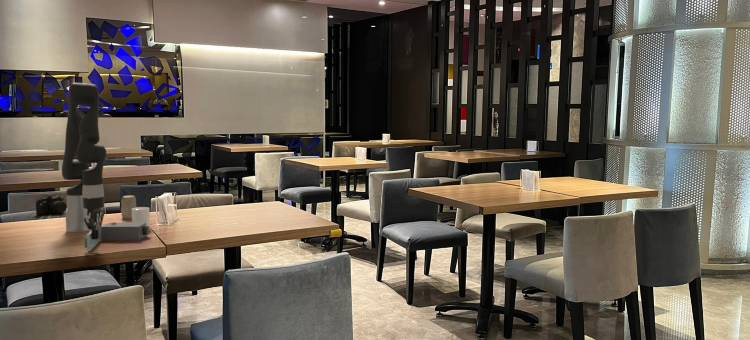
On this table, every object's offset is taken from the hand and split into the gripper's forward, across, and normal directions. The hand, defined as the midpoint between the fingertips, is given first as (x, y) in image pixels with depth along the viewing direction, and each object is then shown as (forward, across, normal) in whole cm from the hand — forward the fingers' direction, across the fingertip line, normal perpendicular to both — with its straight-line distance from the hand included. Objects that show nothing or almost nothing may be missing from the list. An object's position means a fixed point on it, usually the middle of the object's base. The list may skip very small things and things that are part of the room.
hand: (95, 238), depth 223 cm
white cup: (+5, -42, +3) cm, 42 cm away
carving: (+5, -69, -13) cm, 70 cm away
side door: (+4, -16, -5) cm, 17 cm away
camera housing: (+5, -22, +3) cm, 22 cm away
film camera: (+5, -88, -60) cm, 107 cm away
